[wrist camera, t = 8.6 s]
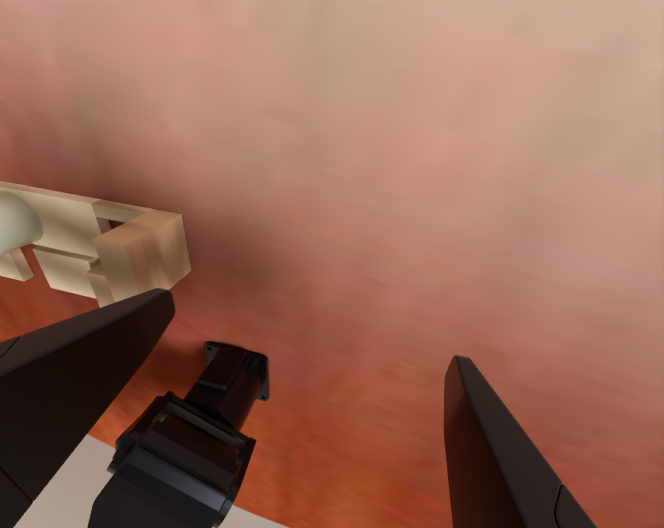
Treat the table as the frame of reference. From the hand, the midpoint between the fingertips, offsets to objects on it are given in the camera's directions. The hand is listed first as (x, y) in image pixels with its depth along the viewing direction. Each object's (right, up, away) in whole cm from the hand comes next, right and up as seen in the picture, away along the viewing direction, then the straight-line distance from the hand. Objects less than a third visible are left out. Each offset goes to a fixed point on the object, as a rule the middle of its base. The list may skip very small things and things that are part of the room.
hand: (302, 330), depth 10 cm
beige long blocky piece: (-20, +5, +17) cm, 27 cm away
